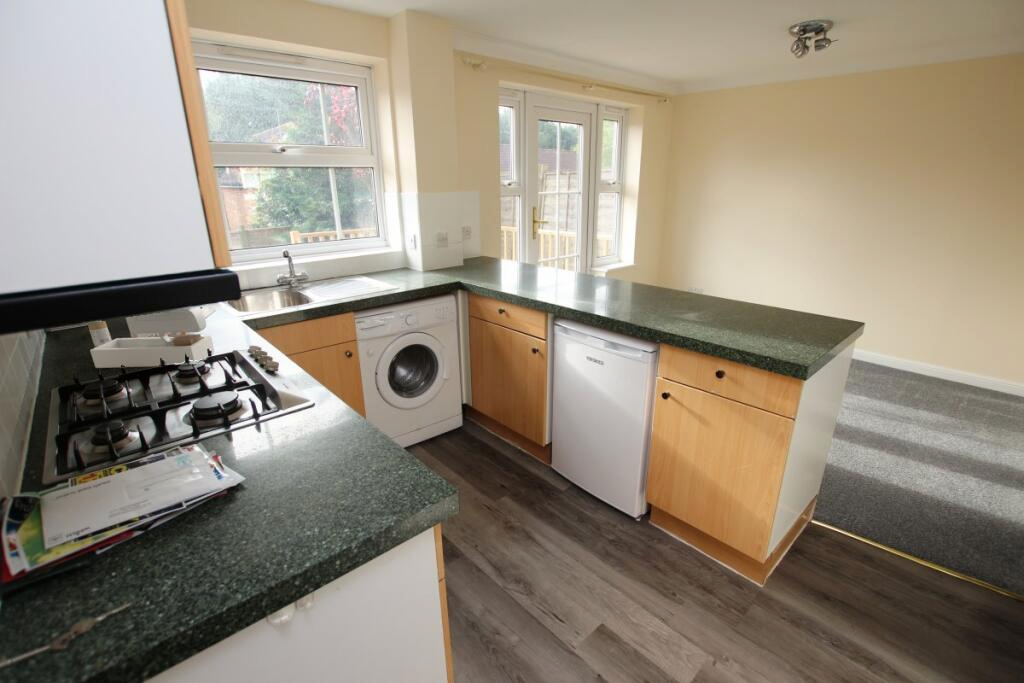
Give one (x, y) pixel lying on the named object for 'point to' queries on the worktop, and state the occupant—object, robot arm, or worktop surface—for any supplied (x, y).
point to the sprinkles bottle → (99, 333)
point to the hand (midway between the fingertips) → (173, 346)
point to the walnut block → (187, 340)
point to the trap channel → (147, 352)
